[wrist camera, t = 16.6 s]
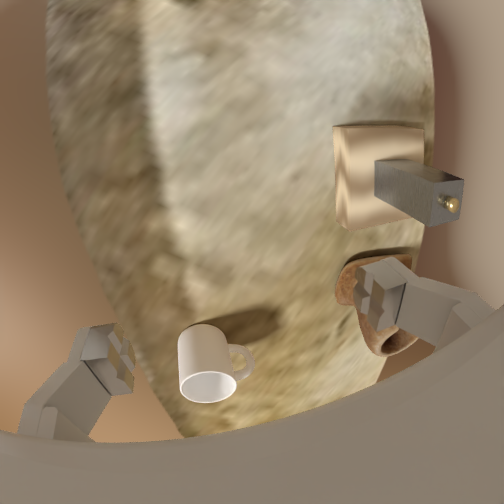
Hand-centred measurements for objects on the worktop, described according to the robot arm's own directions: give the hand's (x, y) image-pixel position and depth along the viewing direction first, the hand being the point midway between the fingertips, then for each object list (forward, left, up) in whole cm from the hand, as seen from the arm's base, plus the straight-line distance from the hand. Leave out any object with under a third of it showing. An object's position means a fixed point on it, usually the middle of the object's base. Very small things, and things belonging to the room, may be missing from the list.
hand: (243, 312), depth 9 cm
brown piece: (+24, +25, -27) cm, 44 cm away
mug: (+28, -4, -27) cm, 39 cm away
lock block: (+4, +25, -23) cm, 34 cm away
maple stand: (+4, +25, -27) cm, 37 cm away
